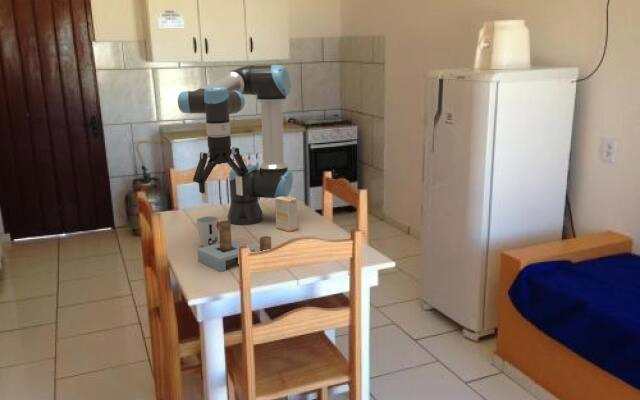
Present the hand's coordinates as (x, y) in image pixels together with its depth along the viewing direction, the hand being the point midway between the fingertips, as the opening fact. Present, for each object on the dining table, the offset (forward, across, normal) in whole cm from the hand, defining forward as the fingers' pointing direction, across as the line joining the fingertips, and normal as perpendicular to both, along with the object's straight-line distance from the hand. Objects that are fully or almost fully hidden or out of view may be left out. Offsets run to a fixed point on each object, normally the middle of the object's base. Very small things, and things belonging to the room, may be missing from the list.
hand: (222, 198), depth 187 cm
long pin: (+22, 0, 0) cm, 22 cm away
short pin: (+22, +14, -4) cm, 27 cm away
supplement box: (+23, +38, +13) cm, 46 cm away
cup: (+23, +5, +19) cm, 30 cm away
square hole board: (+22, 0, 0) cm, 22 cm away
